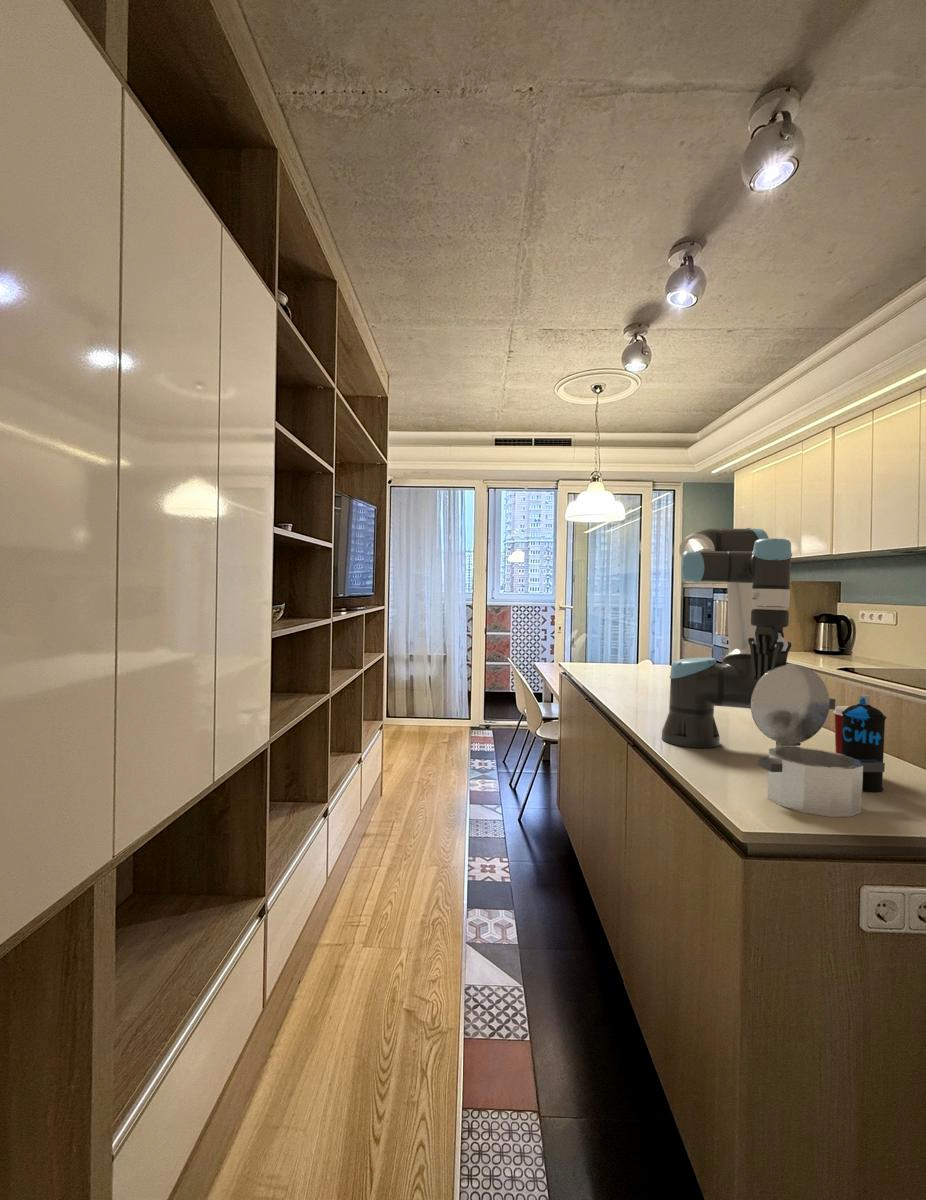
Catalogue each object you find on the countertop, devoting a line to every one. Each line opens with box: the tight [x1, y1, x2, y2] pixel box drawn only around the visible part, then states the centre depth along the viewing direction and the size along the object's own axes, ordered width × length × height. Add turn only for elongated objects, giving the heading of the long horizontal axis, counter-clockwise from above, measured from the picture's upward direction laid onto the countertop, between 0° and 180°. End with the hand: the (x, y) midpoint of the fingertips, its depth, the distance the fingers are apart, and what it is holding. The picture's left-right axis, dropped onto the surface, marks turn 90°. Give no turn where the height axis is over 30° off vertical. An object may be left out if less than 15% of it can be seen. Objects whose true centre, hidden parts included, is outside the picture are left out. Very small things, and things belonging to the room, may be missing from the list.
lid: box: [750, 663, 836, 747], centre depth 131 cm, size 17×19×3 cm
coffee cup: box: [832, 705, 851, 754], centre depth 144 cm, size 8×8×15 cm
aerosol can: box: [841, 694, 887, 793], centre depth 133 cm, size 8×8×20 cm
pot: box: [758, 744, 886, 818], centre depth 122 cm, size 18×24×9 cm
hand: (766, 714), depth 135 cm, fingers closed
